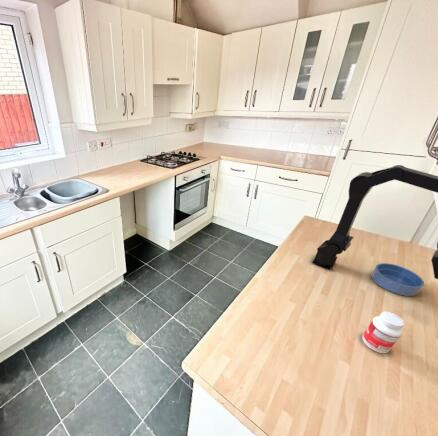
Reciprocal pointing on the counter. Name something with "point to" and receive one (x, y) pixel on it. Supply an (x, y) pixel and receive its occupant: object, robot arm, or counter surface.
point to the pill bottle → (383, 332)
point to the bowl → (397, 279)
